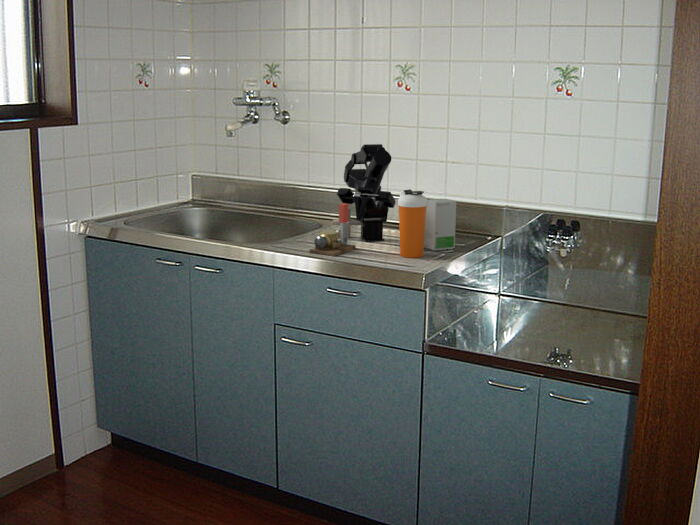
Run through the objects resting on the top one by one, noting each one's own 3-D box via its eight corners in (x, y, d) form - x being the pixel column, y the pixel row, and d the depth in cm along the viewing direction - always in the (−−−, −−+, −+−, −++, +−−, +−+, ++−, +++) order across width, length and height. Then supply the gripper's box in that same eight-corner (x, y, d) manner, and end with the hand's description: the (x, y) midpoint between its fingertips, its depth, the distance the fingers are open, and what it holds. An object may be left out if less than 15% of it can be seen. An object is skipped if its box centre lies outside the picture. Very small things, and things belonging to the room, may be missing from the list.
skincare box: (433, 251, 264) (435, 202, 261) (422, 247, 270) (423, 199, 266) (456, 248, 268) (457, 200, 264) (444, 245, 274) (445, 197, 270)
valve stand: (331, 245, 272) (331, 227, 271) (355, 248, 268) (355, 230, 267) (309, 253, 261) (309, 234, 260) (334, 256, 257) (334, 237, 256)
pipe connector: (362, 240, 281) (362, 210, 278) (332, 240, 281) (332, 210, 278) (362, 234, 290) (362, 205, 288) (333, 234, 290) (333, 205, 288)
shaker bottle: (417, 259, 252) (419, 193, 248) (391, 256, 257) (392, 191, 252) (431, 254, 260) (432, 190, 255) (405, 251, 264) (406, 187, 260)
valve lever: (343, 244, 264) (343, 203, 261) (348, 244, 263) (348, 203, 260) (338, 245, 261) (338, 204, 258) (343, 246, 260) (343, 205, 258)
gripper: (406, 194, 274) (392, 235, 268) (356, 190, 283) (341, 230, 277) (395, 175, 265) (381, 217, 259) (344, 172, 274) (328, 212, 268)
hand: (357, 220), depth 266 cm, fingers closed
